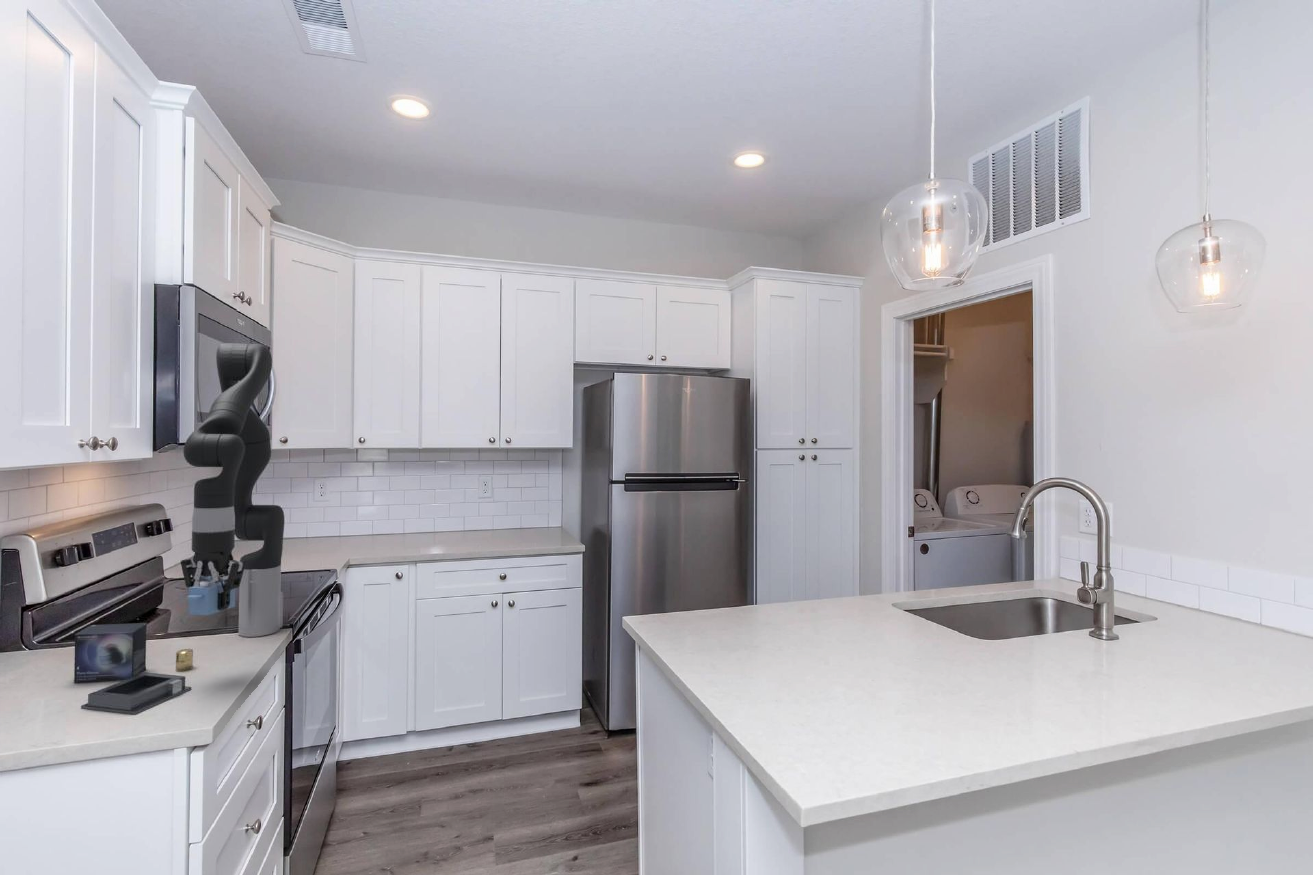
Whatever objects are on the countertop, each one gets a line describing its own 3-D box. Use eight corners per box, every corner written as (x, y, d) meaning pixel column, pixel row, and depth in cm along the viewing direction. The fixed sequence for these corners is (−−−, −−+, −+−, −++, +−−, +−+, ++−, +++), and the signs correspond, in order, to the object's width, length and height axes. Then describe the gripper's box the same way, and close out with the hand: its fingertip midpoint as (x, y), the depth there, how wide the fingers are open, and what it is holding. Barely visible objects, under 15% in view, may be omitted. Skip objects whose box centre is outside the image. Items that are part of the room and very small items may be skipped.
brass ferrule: (184, 666, 144) (184, 648, 144) (196, 667, 144) (196, 649, 144) (172, 670, 141) (172, 652, 141) (184, 672, 141) (184, 653, 141)
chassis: (141, 684, 134) (141, 671, 134) (191, 689, 132) (191, 676, 132) (80, 708, 122) (81, 694, 122) (134, 714, 120) (135, 700, 120)
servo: (223, 603, 142) (223, 573, 142) (241, 604, 141) (241, 574, 141) (181, 616, 132) (181, 584, 132) (200, 617, 131) (201, 585, 131)
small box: (71, 684, 133) (72, 633, 133) (89, 672, 139) (90, 624, 139) (131, 680, 136) (132, 630, 136) (147, 669, 142) (148, 621, 142)
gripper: (257, 527, 139) (255, 606, 139) (199, 523, 141) (198, 601, 142) (229, 532, 132) (227, 615, 132) (168, 528, 134) (167, 610, 134)
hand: (212, 608), depth 137 cm, fingers closed on servo, 4 cm apart
